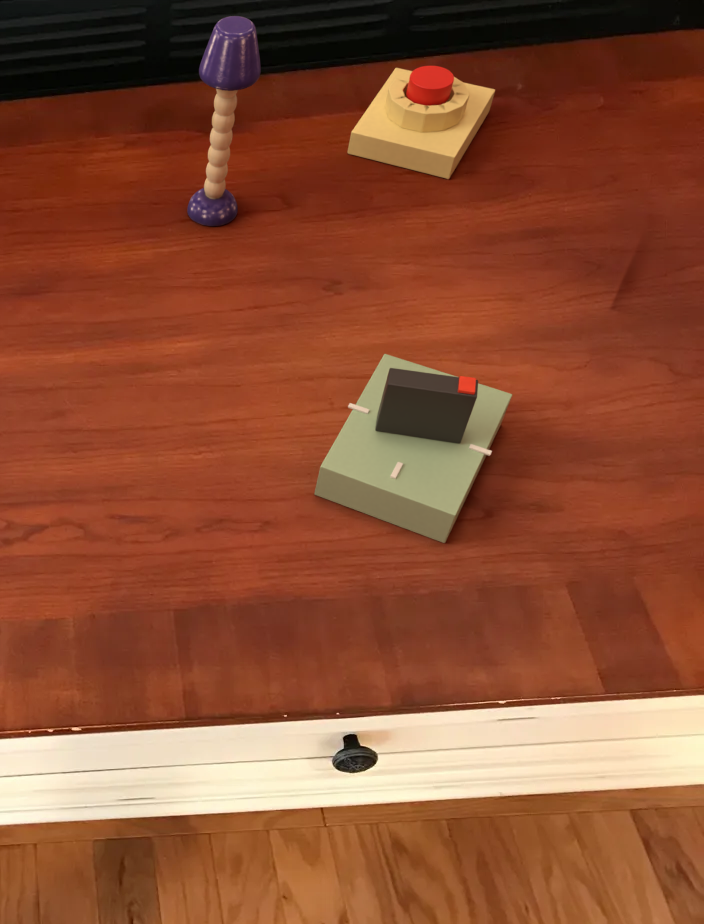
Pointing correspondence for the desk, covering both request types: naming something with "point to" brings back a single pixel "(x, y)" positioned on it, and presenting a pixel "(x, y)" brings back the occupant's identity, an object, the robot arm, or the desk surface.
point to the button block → (420, 127)
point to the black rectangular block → (426, 405)
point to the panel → (408, 461)
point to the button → (430, 85)
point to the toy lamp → (224, 112)
